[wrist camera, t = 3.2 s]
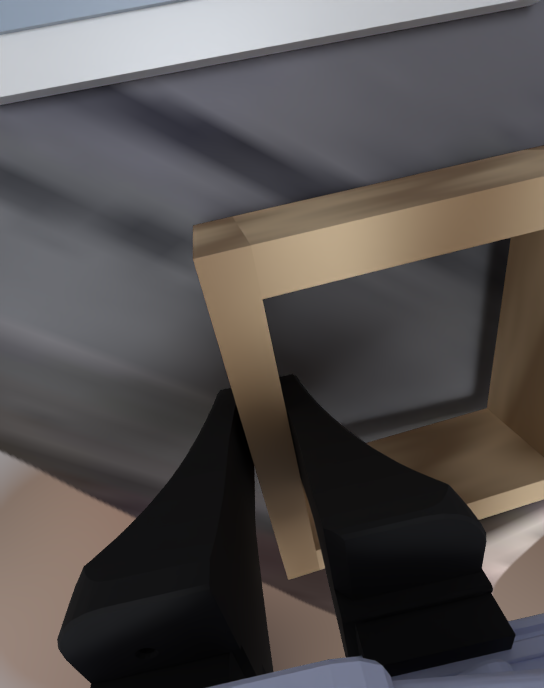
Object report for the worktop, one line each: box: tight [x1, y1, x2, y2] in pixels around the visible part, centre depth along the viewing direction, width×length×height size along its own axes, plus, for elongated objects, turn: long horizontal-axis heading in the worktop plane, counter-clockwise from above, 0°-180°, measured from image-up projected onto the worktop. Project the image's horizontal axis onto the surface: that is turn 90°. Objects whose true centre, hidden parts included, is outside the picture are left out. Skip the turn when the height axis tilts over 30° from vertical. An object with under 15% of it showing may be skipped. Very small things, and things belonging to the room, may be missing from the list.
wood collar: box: [193, 145, 544, 580], centre depth 12 cm, size 12×12×4 cm
